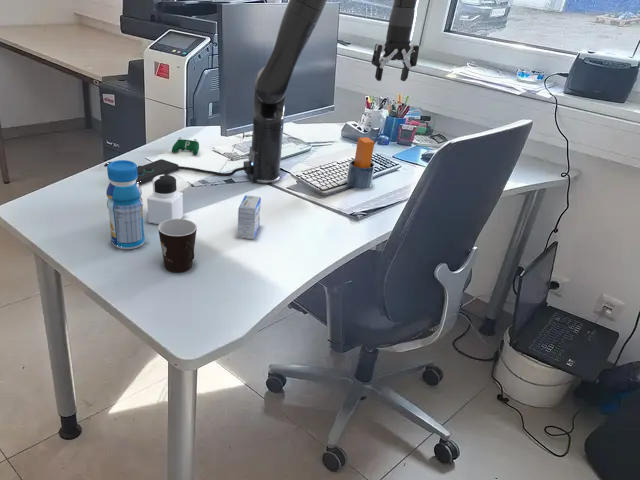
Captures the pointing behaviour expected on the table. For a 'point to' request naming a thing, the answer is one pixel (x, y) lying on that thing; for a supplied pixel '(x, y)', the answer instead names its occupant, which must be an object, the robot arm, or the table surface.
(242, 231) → the medicine box
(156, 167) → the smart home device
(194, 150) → the gaming controller
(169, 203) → the medicine bottle
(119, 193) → the beverage bottle
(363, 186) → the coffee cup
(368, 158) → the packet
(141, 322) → the table surface
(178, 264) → the coffee mug
